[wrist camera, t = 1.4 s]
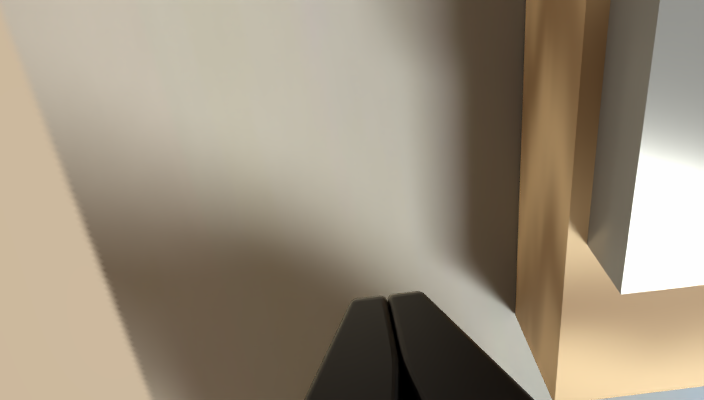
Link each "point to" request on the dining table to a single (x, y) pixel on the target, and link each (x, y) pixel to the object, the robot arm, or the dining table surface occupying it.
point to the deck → (584, 232)
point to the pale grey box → (651, 147)
